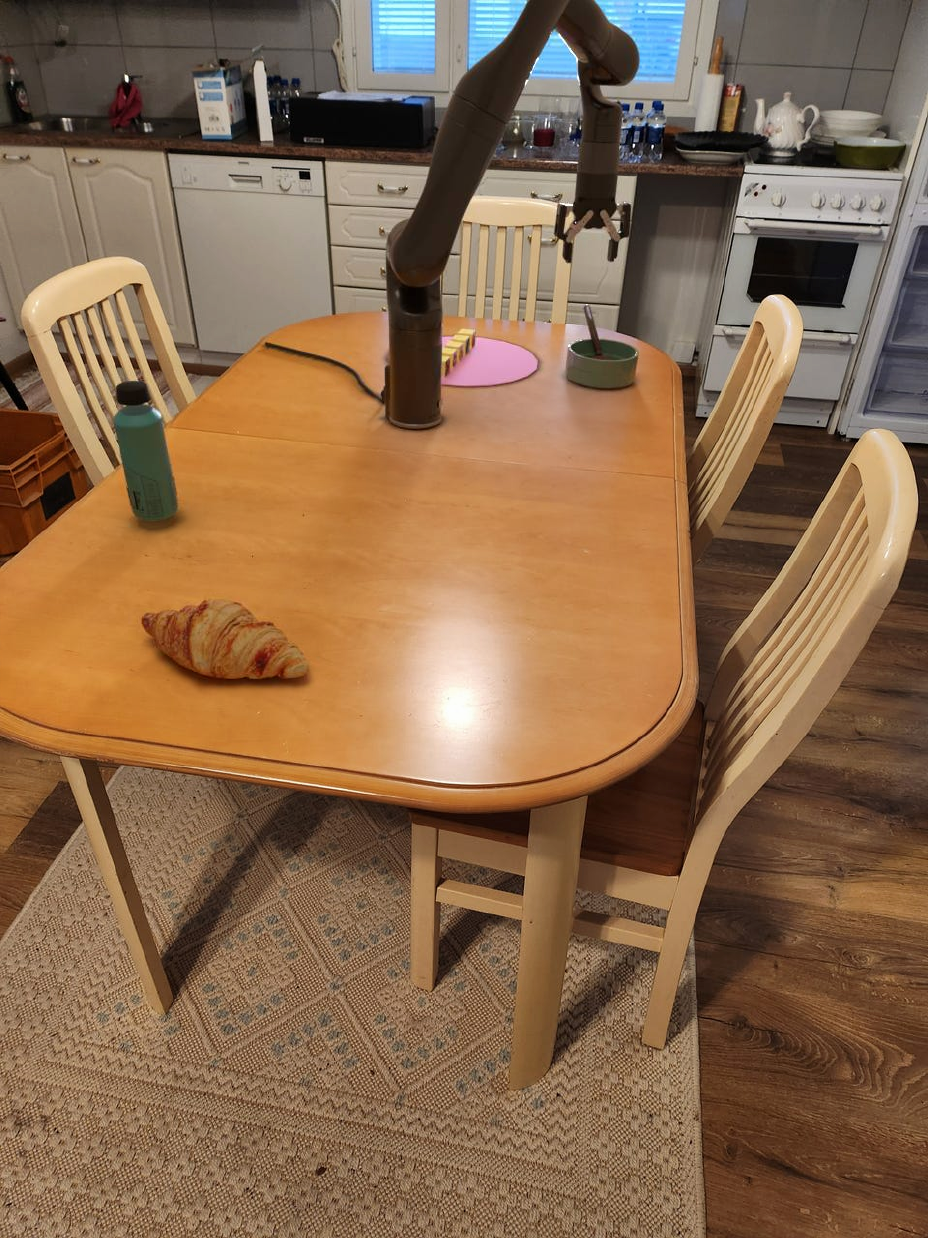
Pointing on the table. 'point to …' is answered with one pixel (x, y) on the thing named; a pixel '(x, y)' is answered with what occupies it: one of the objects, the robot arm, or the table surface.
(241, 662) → the croissant
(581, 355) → the bowl
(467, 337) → the platter
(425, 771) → the table surface
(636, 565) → the table surface
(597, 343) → the spatula
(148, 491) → the beverage bottle
